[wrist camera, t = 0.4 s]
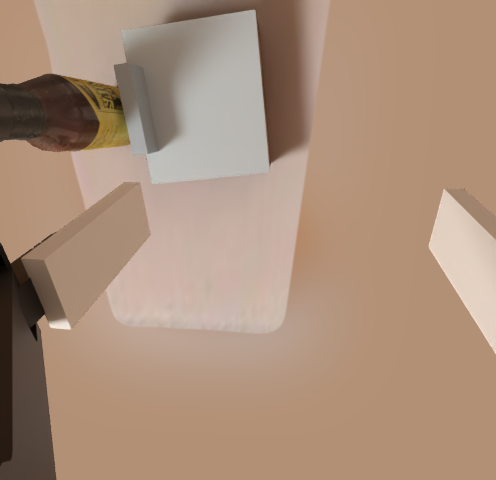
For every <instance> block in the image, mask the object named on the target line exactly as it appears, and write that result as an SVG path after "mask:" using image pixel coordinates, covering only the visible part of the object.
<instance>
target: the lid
mask: <svg viewBox="0 0 496 480" xmlns="http://www.w3.org/2000/svg"><path fill="white" fill-rule="evenodd" d="M121 35H122V40H123V45H124V50H125V55H126V60H127V63H124V64H117V65H114V70H115V74H116V79H117V83H118V88H119V93H120V97H121V102H122V106H123V111H124V116H125V120H126V125H127V129H128V134H129V139H130V143H131V148H132V152H133V156H135V155H144V154H146V157H147V162H148V167H149V172H150V177H151V182H152V184H160V183H170V182H181V181H191V180H201V179H211V178H221V177H231V176H241V175H251V174H262V173H270V165H269V154H268V142H267V131H266V120H265V108H264V97H263V86H262V75H261V63H260V52H259V41H258V29H257V18H256V10H255V9H254V10H248V11H242V12H235V13H229V14H223V15H217V16H210V17H204V18H198V19H192V20H185V21H179V22H173V23H167V24H160V25H154V26H148V27H141V28H135V29H129V30H123V31H121Z"/></svg>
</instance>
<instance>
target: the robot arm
mask: <svg viewBox="0 0 496 480" xmlns="http://www.w3.org/2000/svg"><path fill="white" fill-rule="evenodd" d="M149 236H150V230H149V225H148V220H147V215H146V210H145V205H144V200H143V195H142V190H141V185H140V183H133V182H124V183H123V184H122V185H120V186H119V187H118V188H116V189H115V190H114V191H112V192H111V193H109V194H108V195H107V196H105V197H104V198H103V199H101V200H100V201H99V202H97V203H96V204H94V205H93V206H92V207H90V208H89V209H88V210H86V211H85V212H83V213H82V214H81V215H79V216H78V217H77V218H75V219H74V220H73V221H71V222H70V223H69V224H67V225H66V226H64V227H63V228H62V229H60V230H59V231H57V232H55V233H53V234H51V235H50V236H48V237H47V238H46V239H44V240H43V241H42V242H41V243H38V244H37V245H36V246H34V248H33V249H30V250H29V251H28V252H26V253H25V254H23V255H22V256H21V257H19V258H18V259H17V260H15V261H14V262H13V263H11V264H10V262H9V260H8V258H7V255H6V253H5V251H4V249H3V246H2V245H1V243H0V480H56V472H55V462H54V453H53V443H52V434H51V425H50V415H49V406H48V397H47V387H46V377H45V368H44V360H43V359H44V358H43V349H42V341H41V340H42V339H41V330H40V328H39V326H38V324H37V321H38V320H39V319H40V318H41V317H42V316H43V315H44V314H45V316H46V318H47V320H48V323H49V325H50V327H51V328H59V329H70V330H72V328H73V327H74V326H75V325H76V324H77V322H78V321H79V320H80V319H81V318H82V316H83V315H84V314H85V313H86V312H87V310H88V309H89V308H90V307H91V306H92V304H93V303H94V302H95V301H96V300H97V298H98V297H99V296H100V295H101V294H102V292H103V291H104V290H105V289H106V288H107V287H108V285H109V284H110V283H111V282H112V281H113V279H114V278H115V277H116V276H117V275H118V273H119V272H120V271H121V270H122V269H123V267H124V266H125V265H126V264H127V263H128V261H129V260H130V259H131V258H132V257H133V255H134V254H135V253H136V252H137V251H138V249H139V248H140V247H141V246H142V245H143V243H144V242H145V241H146V240H147V239H148V237H149ZM429 248H430V250H431V252H432V253H433V255H434V257H435V258H436V260H437V261H438V263H439V264H440V266H441V267H442V269H443V271H444V272H445V274H446V276H447V277H448V279H449V280H450V282H451V283H452V285H453V287H454V288H455V290H456V292H457V293H458V295H459V296H460V298H461V299H462V301H463V303H464V304H465V306H466V307H467V309H468V310H469V312H470V314H471V315H472V317H473V318H474V320H475V322H476V323H477V325H478V327H479V328H480V330H481V331H482V333H483V335H484V336H485V338H486V339H487V341H488V342H489V344H490V346H491V347H492V349H493V350H494V352H495V353H496V216H495V215H494V214H492V213H491V212H490V211H489V210H488V209H487V208H486V207H484V206H483V205H482V204H481V203H480V202H479V201H478V200H476V199H475V198H474V197H473V196H472V195H470V194H469V193H468V192H467V191H466V190H465V189H444V191H443V194H442V199H441V202H440V206H439V209H438V213H437V217H436V221H435V224H434V228H433V232H432V236H431V240H430V243H429Z"/></svg>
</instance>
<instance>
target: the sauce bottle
mask: <svg viewBox="0 0 496 480" xmlns="http://www.w3.org/2000/svg"><path fill="white" fill-rule="evenodd" d="M11 139H18V140H26V141H27V142H29V143H30V144H31V145H32V146H35V147H37V148H39V149H41V150H45V151H53V152H61V151H82V150H91V149H100V148H110V147H119V146H126V145H129V144H131V143H130V139H129V134H128V129H127V125H126V120H125V116H124V111H123V106H122V102H121V97H120V93H119V88H118V87H114V86H109V85H104V84H100V83H95V82H90V81H86V80H81V79H76V78H71V77H66V76H61V75H56V74H45V75H42V76H40V77H37V78H34V79H31V80H28V81H26V82H23V83H20V84H0V142H1V141H3V140H11Z"/></svg>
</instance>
